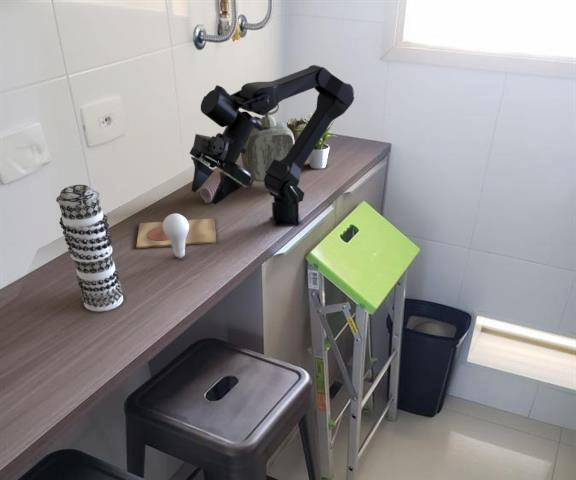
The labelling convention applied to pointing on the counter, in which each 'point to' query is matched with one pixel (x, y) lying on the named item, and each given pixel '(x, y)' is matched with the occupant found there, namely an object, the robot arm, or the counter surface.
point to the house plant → (319, 150)
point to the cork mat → (155, 237)
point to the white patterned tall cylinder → (90, 247)
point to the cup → (296, 126)
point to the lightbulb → (176, 232)
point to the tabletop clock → (266, 147)
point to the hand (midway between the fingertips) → (202, 197)
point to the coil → (209, 190)
